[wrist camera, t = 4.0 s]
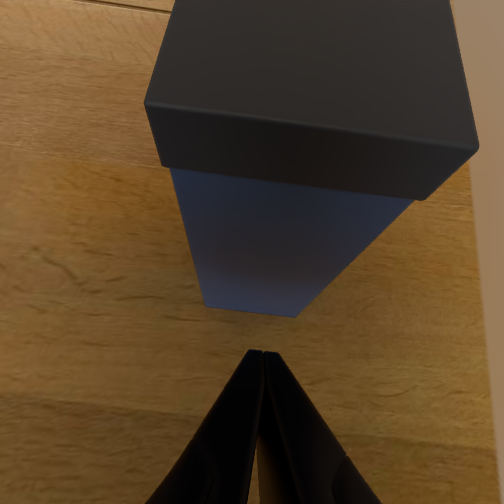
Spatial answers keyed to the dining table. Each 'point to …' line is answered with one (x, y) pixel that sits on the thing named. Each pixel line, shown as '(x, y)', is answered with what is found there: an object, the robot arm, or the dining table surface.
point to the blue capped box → (303, 134)
